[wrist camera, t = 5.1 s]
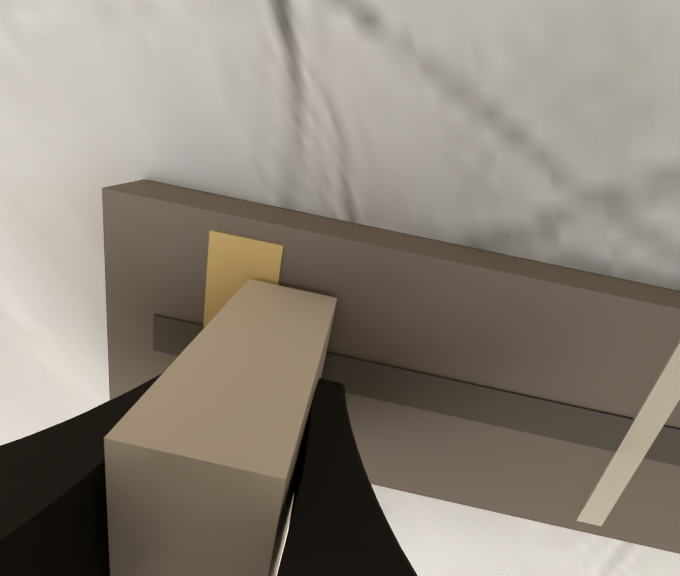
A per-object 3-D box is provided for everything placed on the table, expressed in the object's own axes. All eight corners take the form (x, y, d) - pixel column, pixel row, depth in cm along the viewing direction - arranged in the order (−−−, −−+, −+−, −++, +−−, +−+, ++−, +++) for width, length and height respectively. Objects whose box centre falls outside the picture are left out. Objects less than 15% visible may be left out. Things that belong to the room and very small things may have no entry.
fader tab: (337, 297, 11) (286, 479, 5) (308, 442, 13) (247, 690, 7) (248, 278, 11) (103, 438, 5) (233, 426, 13) (113, 658, 7)
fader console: (794, 315, 12) (873, 351, 10) (663, 505, 15) (705, 561, 13) (143, 179, 13) (99, 188, 11) (143, 389, 16) (108, 427, 14)
